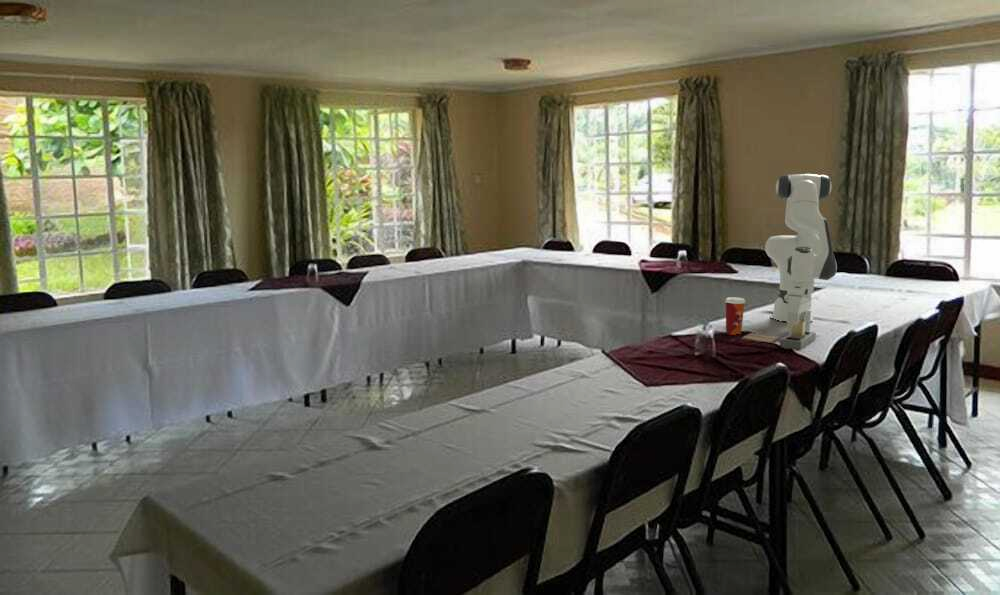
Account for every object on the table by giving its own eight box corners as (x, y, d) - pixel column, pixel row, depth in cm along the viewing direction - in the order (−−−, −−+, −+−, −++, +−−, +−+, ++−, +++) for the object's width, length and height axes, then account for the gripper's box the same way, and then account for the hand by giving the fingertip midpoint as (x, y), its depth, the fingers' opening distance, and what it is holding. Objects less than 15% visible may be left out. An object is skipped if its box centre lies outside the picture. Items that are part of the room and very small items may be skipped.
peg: (793, 341, 312) (795, 319, 310) (804, 343, 309) (805, 320, 308) (791, 343, 308) (792, 321, 307) (801, 344, 306) (803, 322, 305)
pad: (750, 335, 324) (751, 332, 323) (780, 338, 317) (780, 336, 316) (741, 340, 314) (741, 337, 314) (771, 344, 307) (771, 341, 307)
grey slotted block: (795, 337, 320) (795, 330, 319) (815, 339, 315) (815, 332, 315) (779, 346, 302) (779, 339, 302) (800, 349, 298) (801, 342, 297)
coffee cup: (739, 336, 321) (741, 300, 319) (720, 334, 326) (722, 298, 324) (746, 333, 328) (748, 298, 325) (727, 330, 333) (729, 296, 330)
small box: (805, 332, 329) (807, 308, 328) (809, 335, 324) (811, 310, 322) (786, 332, 330) (787, 307, 328) (789, 335, 325) (791, 310, 323)
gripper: (800, 285, 315) (798, 318, 317) (785, 290, 299) (783, 325, 301) (816, 286, 312) (814, 320, 314) (802, 292, 295) (800, 327, 297)
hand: (799, 323), depth 307 cm, fingers open, 8 cm apart
